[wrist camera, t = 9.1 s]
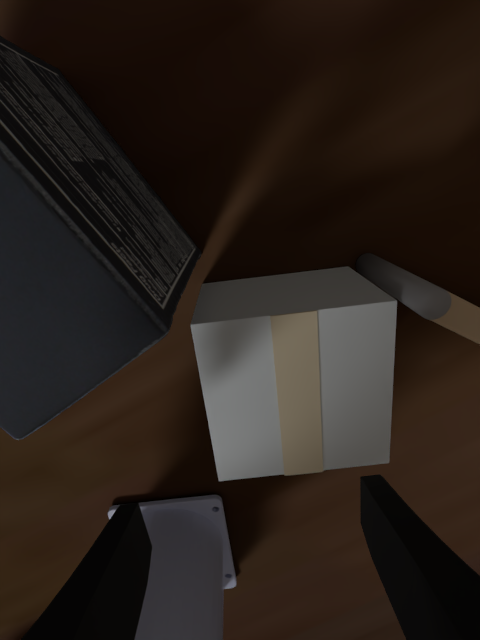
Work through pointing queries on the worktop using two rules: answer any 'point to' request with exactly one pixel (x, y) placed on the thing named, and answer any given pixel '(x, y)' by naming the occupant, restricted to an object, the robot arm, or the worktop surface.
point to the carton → (296, 372)
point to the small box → (74, 249)
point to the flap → (422, 296)
